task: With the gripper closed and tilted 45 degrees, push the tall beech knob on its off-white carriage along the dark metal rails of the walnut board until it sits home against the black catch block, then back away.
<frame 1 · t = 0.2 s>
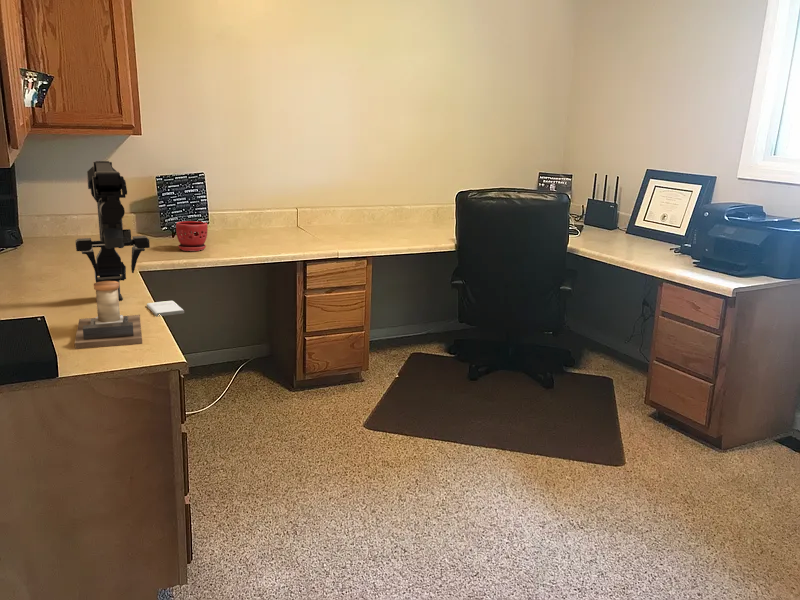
hand: (115, 273, 192), 14 cm above the table, tool pointing down, fingers open, 9 cm apart
plant pot: (192, 250, 301), on the table
track board: (109, 333, 187), on the table
external hard drive: (165, 311, 211), on the table
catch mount: (109, 323, 186), on the track board, point 2 cm above the table
knob slider: (107, 303, 189), point 7 cm above the table, slide at 0.0 cm
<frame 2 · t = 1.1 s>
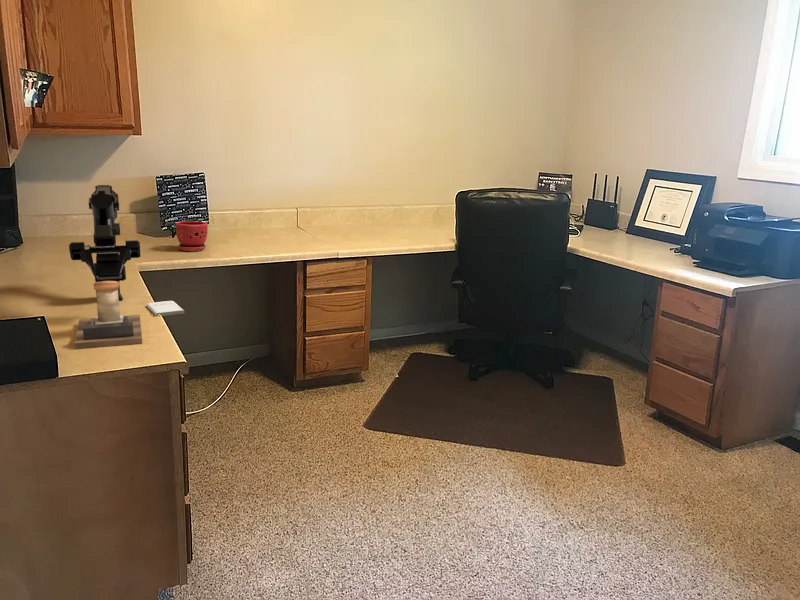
hand: (106, 274, 195), 13 cm above the table, tool tilted 45°, fingers open, 6 cm apart
nothing on the table moved.
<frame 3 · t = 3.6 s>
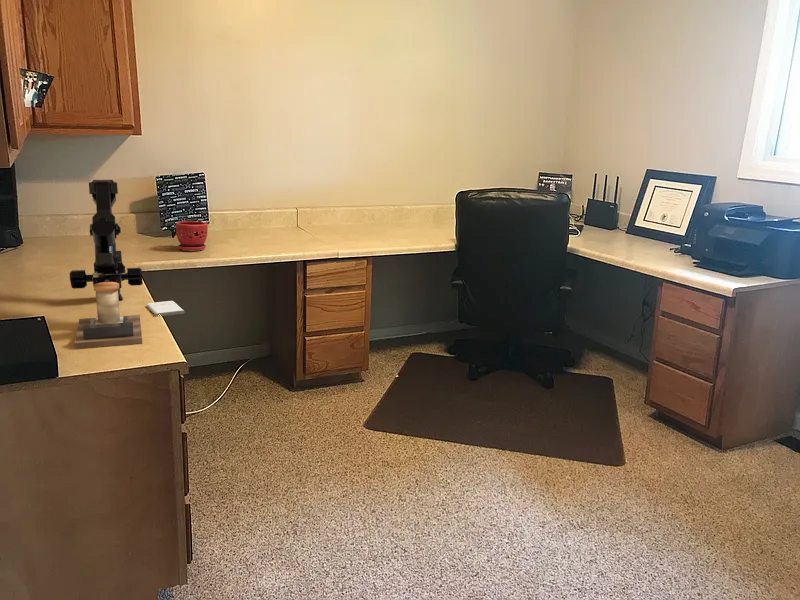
hand: (108, 303, 190), 7 cm above the table, tool tilted 45°, fingers closed, pressing on knob slider
knob slider: (107, 304, 188), point 7 cm above the table, slide at 1.3 cm, touching gripper
everything else where it was.
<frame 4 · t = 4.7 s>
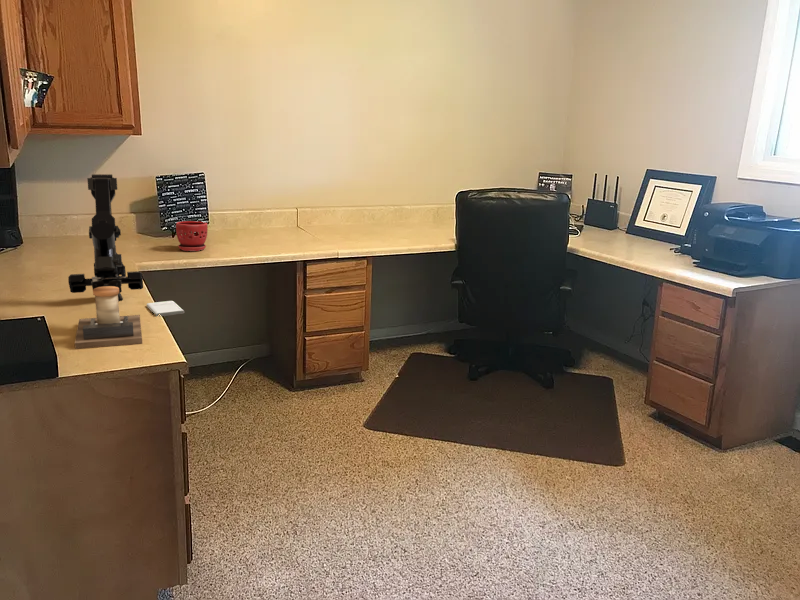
hand: (108, 308, 186), 7 cm above the table, tool tilted 45°, fingers closed, pressing on knob slider
knob slider: (107, 309, 183), point 7 cm above the table, slide at 6.2 cm, touching gripper
everything else where it was.
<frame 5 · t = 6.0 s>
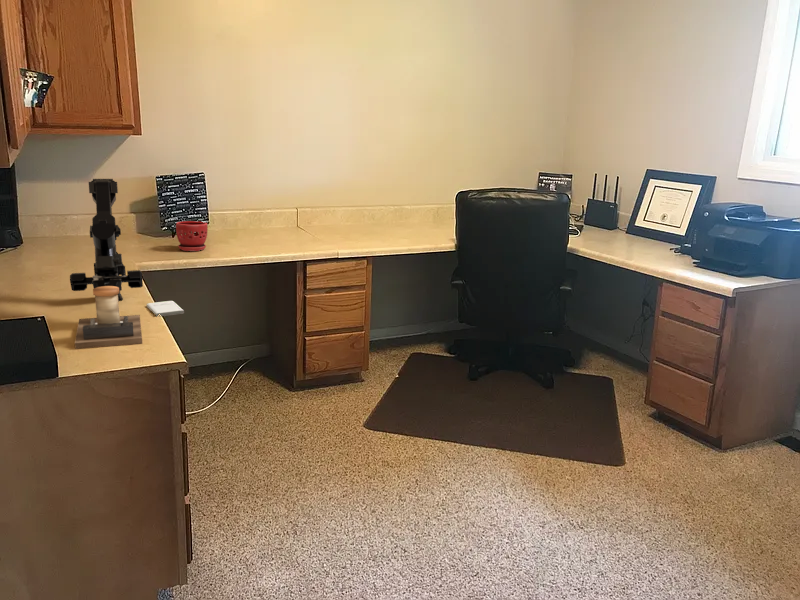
hand: (108, 306, 191), 6 cm above the table, tool tilted 45°, fingers closed
knob slider: (107, 309, 183), point 7 cm above the table, slide at 6.0 cm
everything else where it was.
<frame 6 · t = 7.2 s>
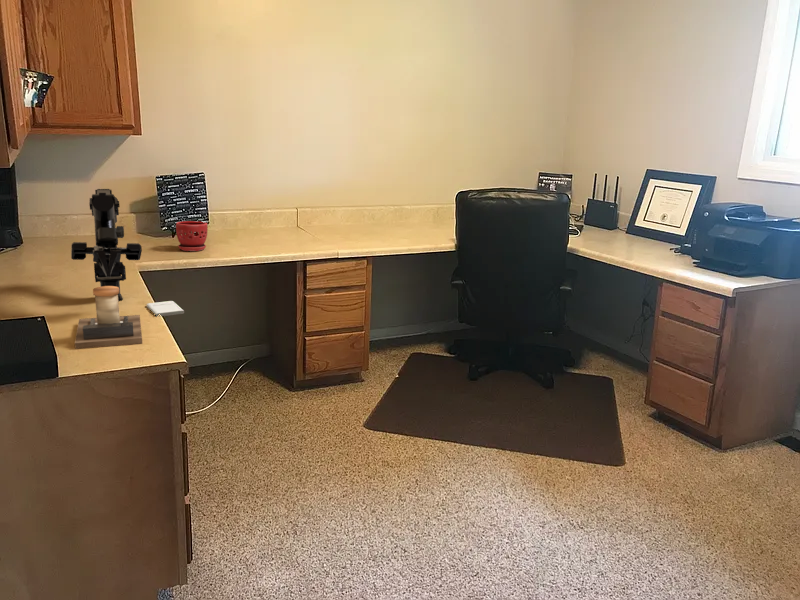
hand: (108, 276, 197), 12 cm above the table, tool tilted 40°, fingers closed
nothing on the table moved.
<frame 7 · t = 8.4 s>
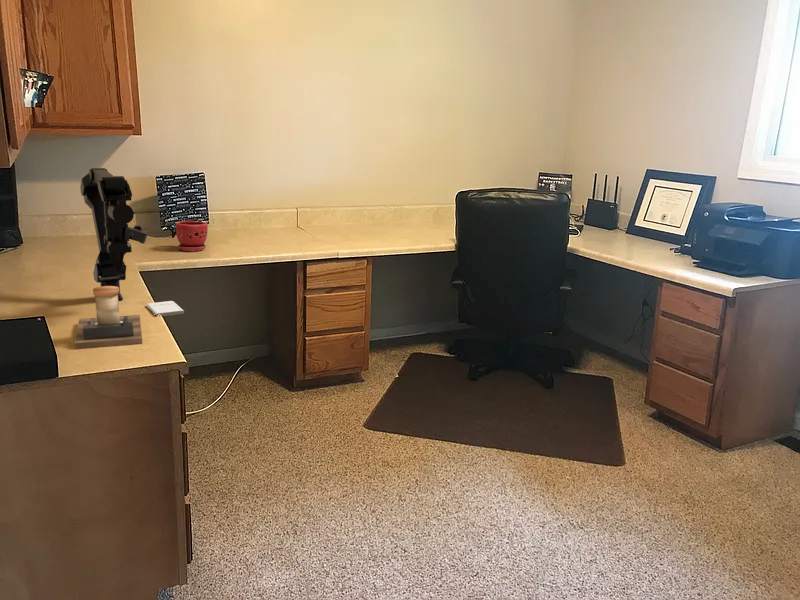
hand: (119, 271, 206), 12 cm above the table, tool pointing down, fingers closed
nothing on the table moved.
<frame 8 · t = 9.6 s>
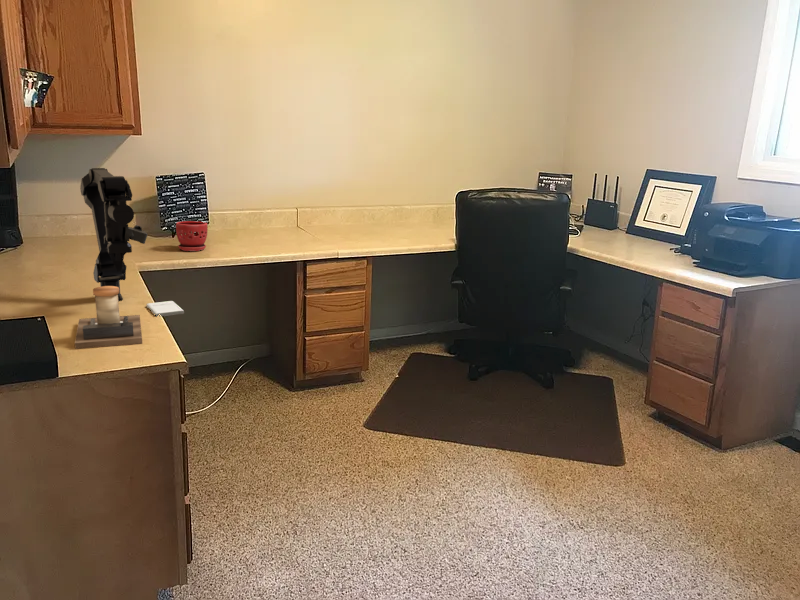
hand: (119, 271, 206), 12 cm above the table, tool pointing down, fingers closed
nothing on the table moved.
at the end: knob slider slide at 6.0 cm; external hard drive moved 0.9 cm from its start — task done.
